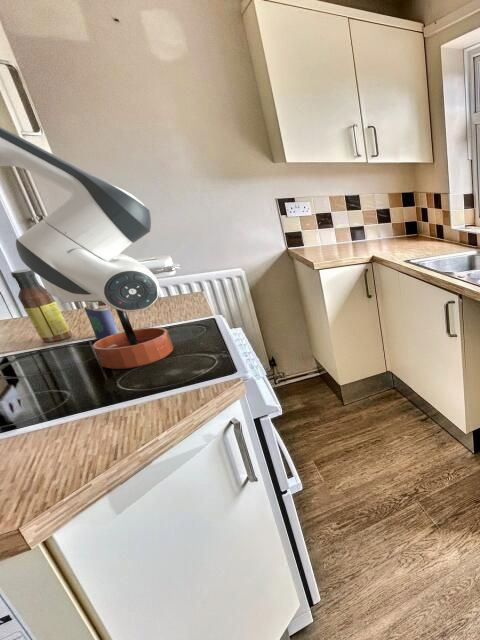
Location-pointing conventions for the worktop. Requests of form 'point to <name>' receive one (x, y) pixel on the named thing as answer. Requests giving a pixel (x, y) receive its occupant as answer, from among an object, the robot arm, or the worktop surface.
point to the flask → (101, 320)
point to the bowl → (133, 348)
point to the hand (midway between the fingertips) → (107, 267)
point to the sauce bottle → (41, 307)
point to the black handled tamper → (127, 327)
